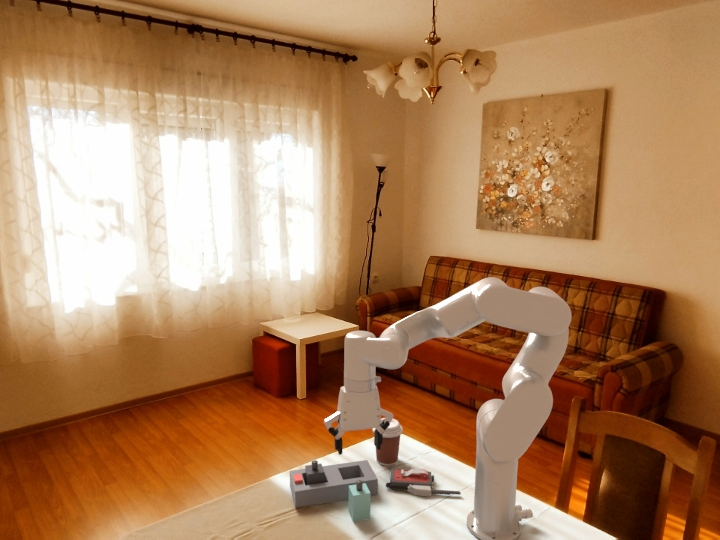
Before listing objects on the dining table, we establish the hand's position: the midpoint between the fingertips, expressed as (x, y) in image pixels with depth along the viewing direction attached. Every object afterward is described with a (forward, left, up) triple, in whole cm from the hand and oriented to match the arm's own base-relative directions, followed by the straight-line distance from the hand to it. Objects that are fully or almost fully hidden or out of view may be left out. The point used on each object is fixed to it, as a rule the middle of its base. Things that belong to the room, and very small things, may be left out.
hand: (358, 449), depth 125 cm
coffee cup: (-15, -23, -18) cm, 33 cm away
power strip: (+4, -12, -18) cm, 21 cm away
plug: (0, 0, -18) cm, 18 cm away
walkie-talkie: (-20, -7, -18) cm, 28 cm away
